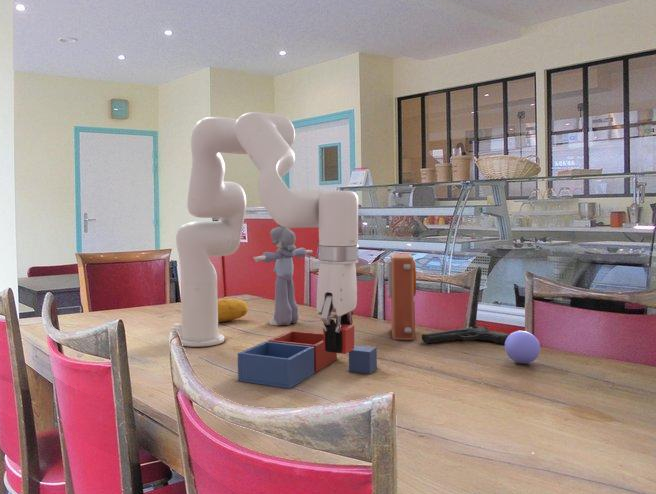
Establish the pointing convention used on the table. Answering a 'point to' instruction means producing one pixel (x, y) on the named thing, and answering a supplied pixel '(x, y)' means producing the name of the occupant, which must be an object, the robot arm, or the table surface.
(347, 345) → the red block
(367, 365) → the blue block
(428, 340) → the handgun
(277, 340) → the red bin
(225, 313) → the potato
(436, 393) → the table surface
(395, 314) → the control panel
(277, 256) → the toy
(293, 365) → the blue bin
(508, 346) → the sphere
